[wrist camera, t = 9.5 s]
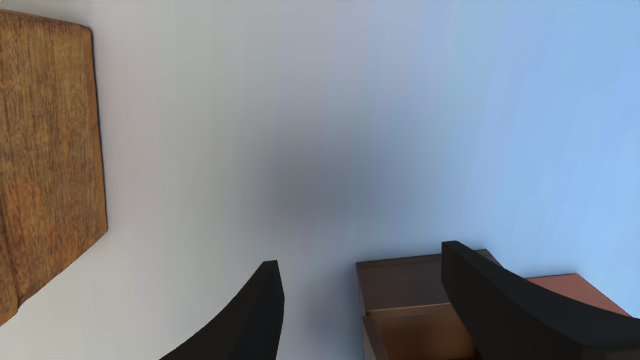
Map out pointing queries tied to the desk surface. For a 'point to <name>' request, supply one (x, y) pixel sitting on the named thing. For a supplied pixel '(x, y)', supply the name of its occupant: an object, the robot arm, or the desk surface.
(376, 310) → the box
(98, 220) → the wooden box
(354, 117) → the desk surface
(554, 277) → the note cube
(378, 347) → the lid
